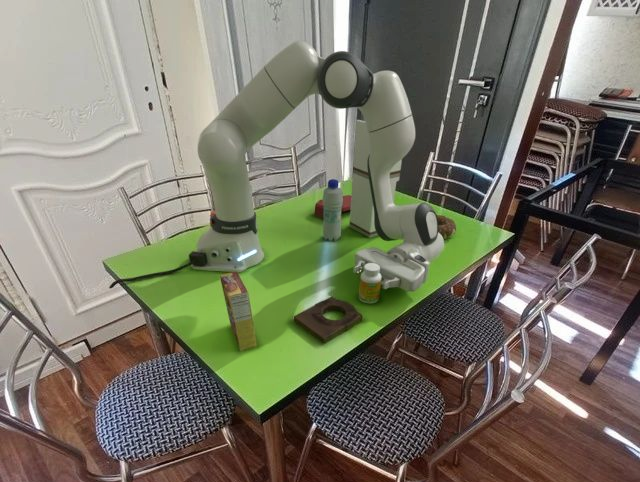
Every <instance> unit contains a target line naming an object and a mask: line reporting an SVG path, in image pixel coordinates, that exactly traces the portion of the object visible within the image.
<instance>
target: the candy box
mask: <svg viewBox="0 0 640 482" xmlns="http://www.w3.org/2000/svg"><path fill="white" fill-rule="evenodd" d="M219 279H220V284H221V288H222V292H223V297H224V301H225V306H226V310H227V315H228V319H229V325H230V328H231V331H232V334H233V336H234V338H235V340H236V343H237V346H238V349H239V351H241V352H243V351H245V350H249V349H252V348H256V347H257V346H258V345H257V339H256V332H255V325H254V320H253V319H254V318H253V313H252V312H253V311H252V307H251V301H250V300H251V299H250V295H249V291H248V289H247V287H246V285H245V284H244V282H243V281H242V278H241V276H240V275H239V272H226V273H224V274H220V275H219Z"/></svg>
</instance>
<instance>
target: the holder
mask: <svg viewBox="0 0 640 482" xmlns="http://www.w3.org/2000/svg"><path fill="white" fill-rule="evenodd" d="M328 312H339V313H341V314H343V315H344V317H342V318H339V319H330V318H326V316H324V314H326V313H328ZM363 316H364V315H363V314H362V313H361V312H359V311H358V310H357V308H356V307H355V306H354V305H353V304H351V303H350V302H349V301H345V300H342V299H338V298H336V297H334V296H332V295H331V296H330V297H327V298H326V299H324V300H321V301H319V302H317V303H315V304H314V305H312V306H310V307H308V308H307V309H304V310H303V311H301V312H299V313H297V314H295V315H293V323H295V324H296V325H297V326H298V327H300V328H302V329H303V330H304V331H305V332H307V333H308V334H309V335H311V336H312V337H313V338H315V339H316V340H317V341H319V342H320V343H321V344H323V345H325V344H327V343H328V342H330V341H332V340H333V339H335V338H336V337H338V336H340V335H341V334H343V333H344V332H347V331H349V330H351V329H352V328H354V327H355V326H356V325H358V324H359V323H361V322H362V321H363Z"/></svg>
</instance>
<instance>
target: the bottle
mask: <svg viewBox="0 0 640 482" xmlns="http://www.w3.org/2000/svg"><path fill="white" fill-rule="evenodd" d="M339 184H340V183H339V181H338V180H337V179H335V178H331V179H328V181H327V187H326V188H324V189H323V194H322V199H323V206H324V219H323V223H322V236H323V238H324V240H325V241H329V242H333V241H334V242H336V241H337V240H339V239H340V238H341V237H342V236H341V235H342V212H341V208H342V205H343V196H344V195H343V189H342V188H341V187H339Z"/></svg>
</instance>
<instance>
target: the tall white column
mask: <svg viewBox="0 0 640 482" xmlns="http://www.w3.org/2000/svg"><path fill="white" fill-rule="evenodd" d="M370 151H371V144H370V137H369V132H368V129H367V125H366V122H365V120H361V119H356V120H355V129H354V149H353V164H352V181H351V194H350V195H351V210H349V211H350V212H349V228H351V229H353V230H354V231H356V232H358V233H360V234H361V235H363V236H364V237H367V238H368V239H371V238H374V237H377V236H378V237H379V235H378V234H377V232H376V230H375V226H374V207H373V201H372V195H371V189H370V183H369V176H368V168H367V160H368V156H369V154H370ZM402 162H403V158H402V159H401V160H400V161H399V162H397V163H396V164H395V165H394V166H393V167H392V169H391V171H390V176H389V178H390V186H391V193H392V201H393V203H394V202H395V197H396V196H395V195H396V189H397V188H396V187H397V182H399V181H400V178H401V177H400V176H401V169H402V164H403V163H402ZM394 204H395V203H394Z"/></svg>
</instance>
